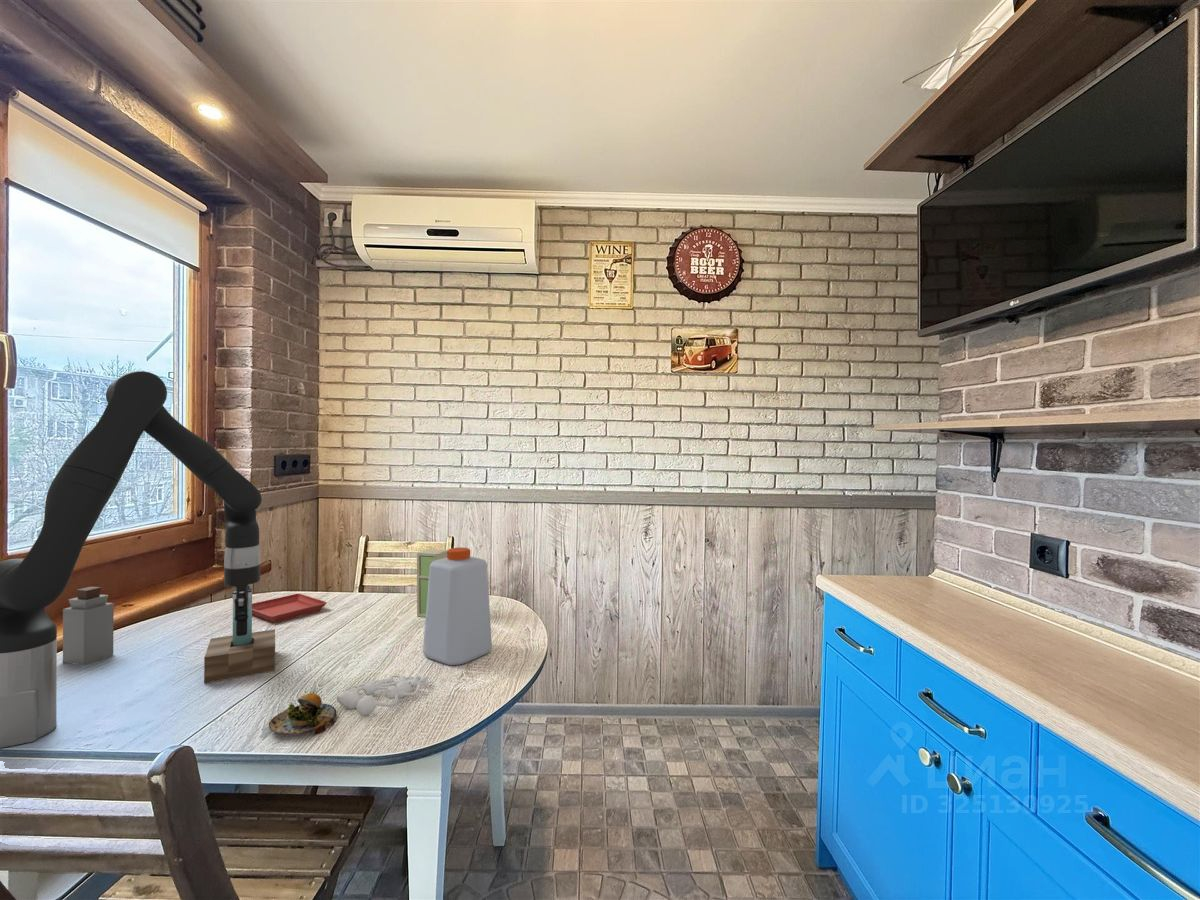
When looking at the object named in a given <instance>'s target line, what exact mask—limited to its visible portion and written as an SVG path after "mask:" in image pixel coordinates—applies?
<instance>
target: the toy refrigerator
mask: <svg viewBox="0 0 1200 900" xmlns="http://www.w3.org/2000/svg"><path fill="white" fill-rule="evenodd" d="M448 550H449V549H440V548H438V549H437V548H427V549H424V550H420V551H418V552H416V616H417V617H420V618H422V617H423V618H426V606H427V594H428V581H429V569H430V564H431V563H432V562H433V561H435V560H439V559H443V558H447V551H448Z"/></svg>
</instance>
